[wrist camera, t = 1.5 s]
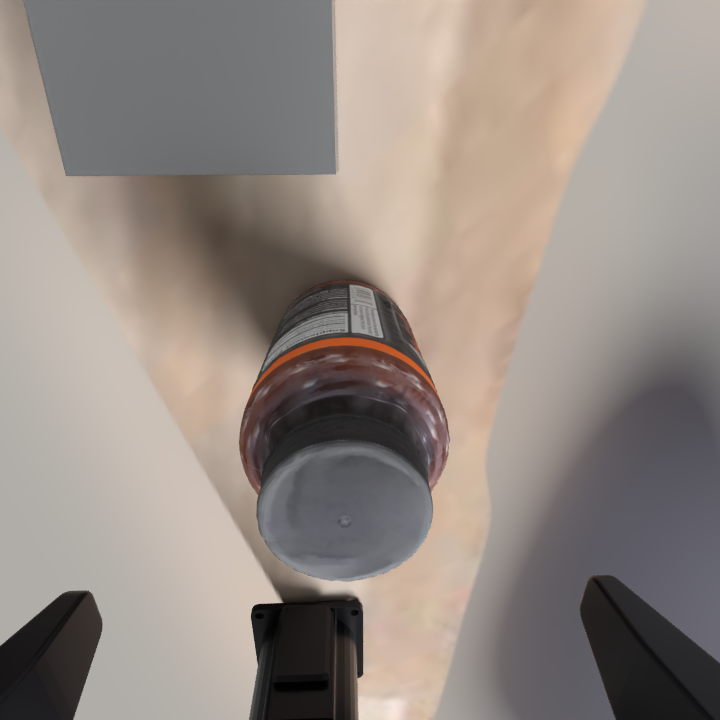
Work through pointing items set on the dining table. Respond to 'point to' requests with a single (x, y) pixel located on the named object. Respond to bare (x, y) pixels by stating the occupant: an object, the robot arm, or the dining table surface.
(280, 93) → the grey arch block
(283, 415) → the supplement bottle
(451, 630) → the dining table surface
